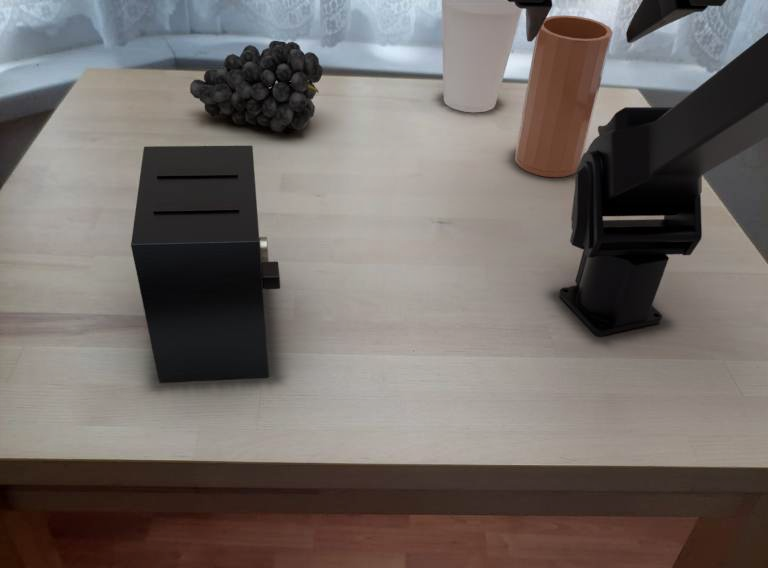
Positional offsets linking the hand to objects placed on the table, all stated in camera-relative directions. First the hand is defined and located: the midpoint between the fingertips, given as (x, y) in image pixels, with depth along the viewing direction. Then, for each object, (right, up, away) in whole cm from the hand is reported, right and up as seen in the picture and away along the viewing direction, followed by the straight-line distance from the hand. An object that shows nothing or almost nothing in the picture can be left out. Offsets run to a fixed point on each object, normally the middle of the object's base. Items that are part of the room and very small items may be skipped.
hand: (579, 37), depth 69 cm
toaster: (-31, -27, -7) cm, 41 cm away
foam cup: (-7, +8, +26) cm, 28 cm away
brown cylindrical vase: (0, -4, +16) cm, 16 cm away
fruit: (-31, +2, +19) cm, 37 cm away
